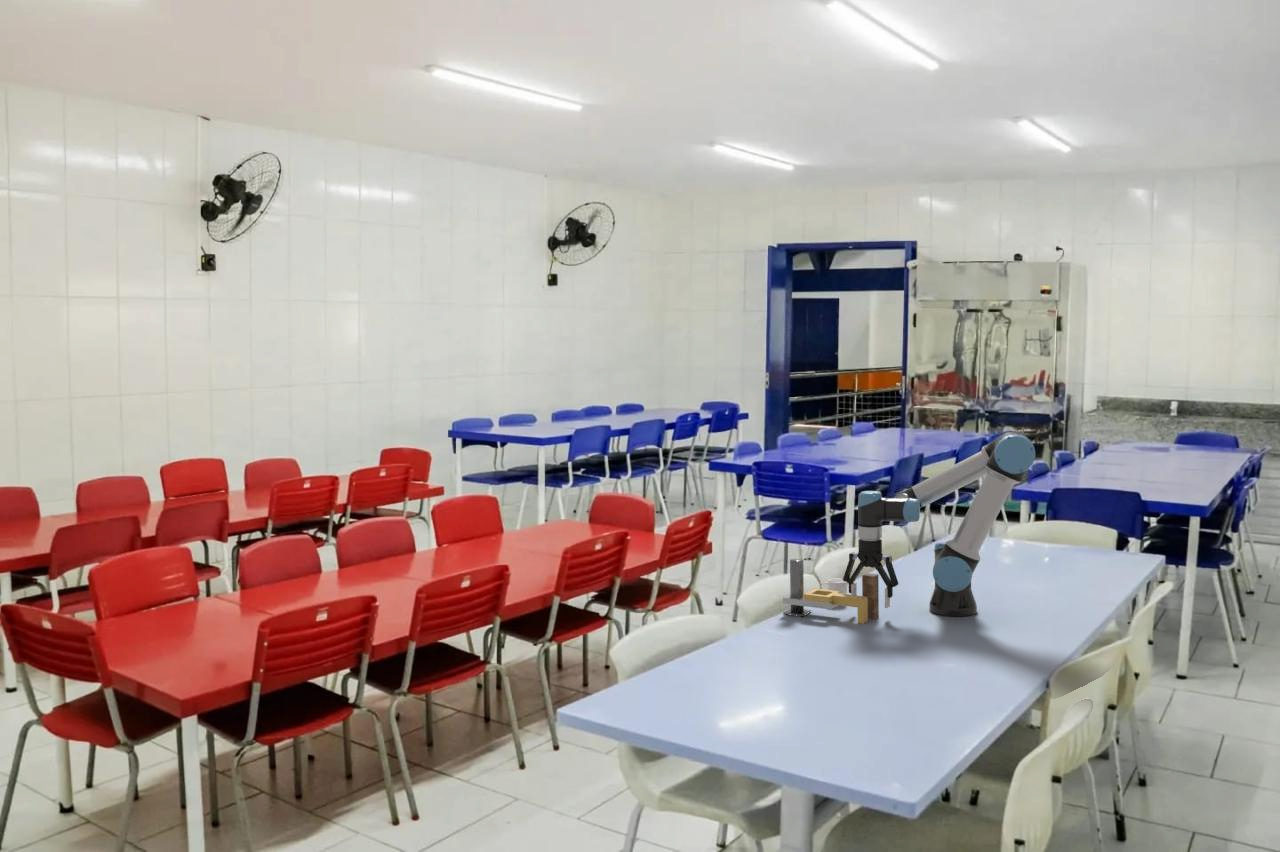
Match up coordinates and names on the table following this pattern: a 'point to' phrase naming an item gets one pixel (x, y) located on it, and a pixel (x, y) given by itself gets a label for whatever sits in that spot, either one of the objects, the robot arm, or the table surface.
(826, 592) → the bracket
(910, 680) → the table surface
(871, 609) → the pin
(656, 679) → the table surface
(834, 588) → the cup
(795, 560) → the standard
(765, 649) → the table surface
